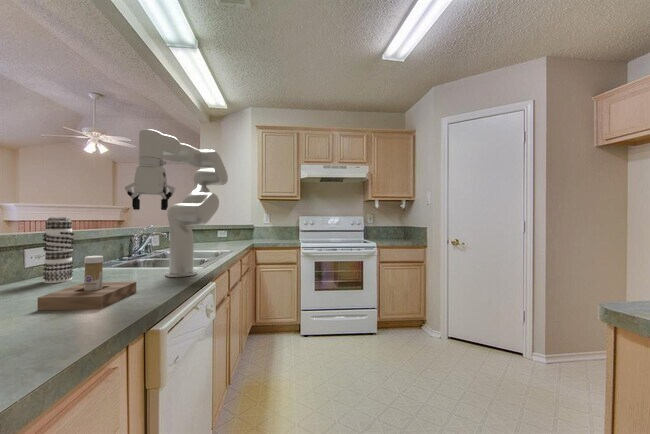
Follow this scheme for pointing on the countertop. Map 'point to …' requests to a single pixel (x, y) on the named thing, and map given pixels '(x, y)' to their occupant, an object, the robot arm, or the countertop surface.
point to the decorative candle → (58, 250)
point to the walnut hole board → (86, 297)
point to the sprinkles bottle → (93, 273)
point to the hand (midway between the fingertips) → (150, 209)
